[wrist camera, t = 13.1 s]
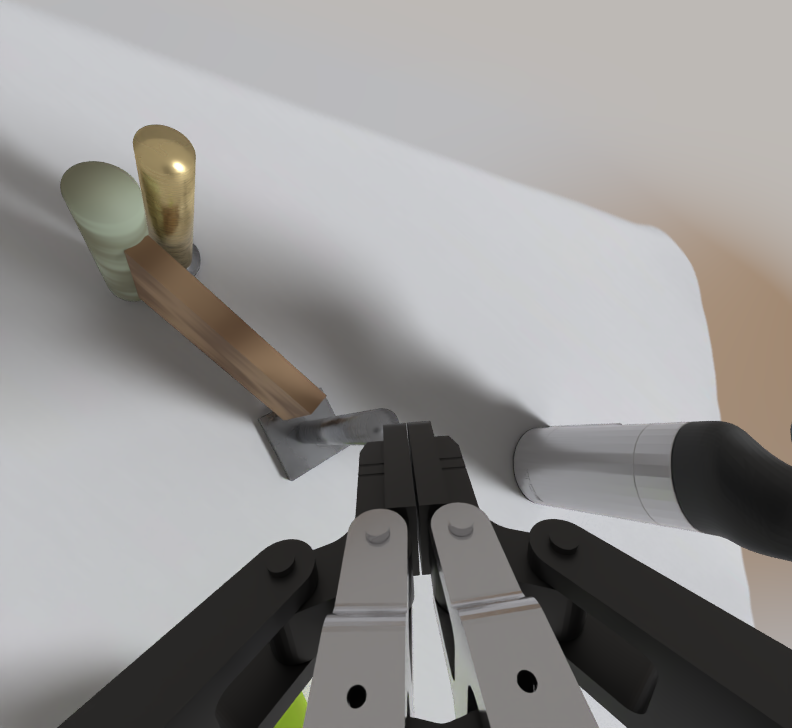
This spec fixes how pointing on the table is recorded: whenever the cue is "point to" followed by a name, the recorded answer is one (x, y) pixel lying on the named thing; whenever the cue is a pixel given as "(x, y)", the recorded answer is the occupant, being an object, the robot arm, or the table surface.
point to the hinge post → (321, 435)
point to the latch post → (168, 190)
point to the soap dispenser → (294, 714)
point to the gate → (176, 288)
